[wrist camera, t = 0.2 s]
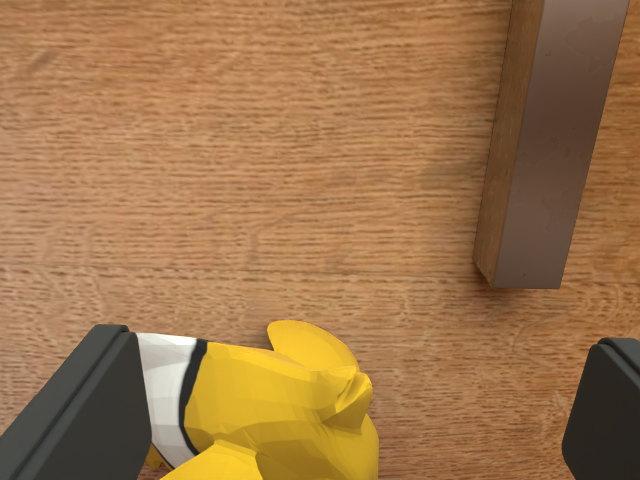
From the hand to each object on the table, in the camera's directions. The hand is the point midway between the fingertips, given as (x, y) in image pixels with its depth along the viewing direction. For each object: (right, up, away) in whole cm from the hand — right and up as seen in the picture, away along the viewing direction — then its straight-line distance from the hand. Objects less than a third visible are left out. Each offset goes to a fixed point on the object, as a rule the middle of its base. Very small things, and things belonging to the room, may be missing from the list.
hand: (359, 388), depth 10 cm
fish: (-5, -5, +17) cm, 18 cm away
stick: (+8, +9, +10) cm, 16 cm away
